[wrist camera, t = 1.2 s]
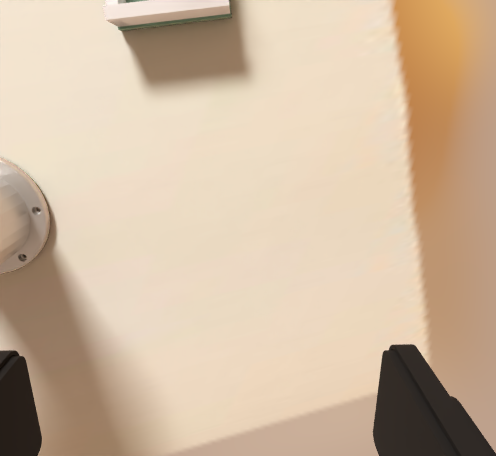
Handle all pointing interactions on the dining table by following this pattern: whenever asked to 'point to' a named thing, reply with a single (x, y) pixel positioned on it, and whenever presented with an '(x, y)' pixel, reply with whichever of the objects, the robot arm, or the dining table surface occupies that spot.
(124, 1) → the pitch
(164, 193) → the dining table surface
